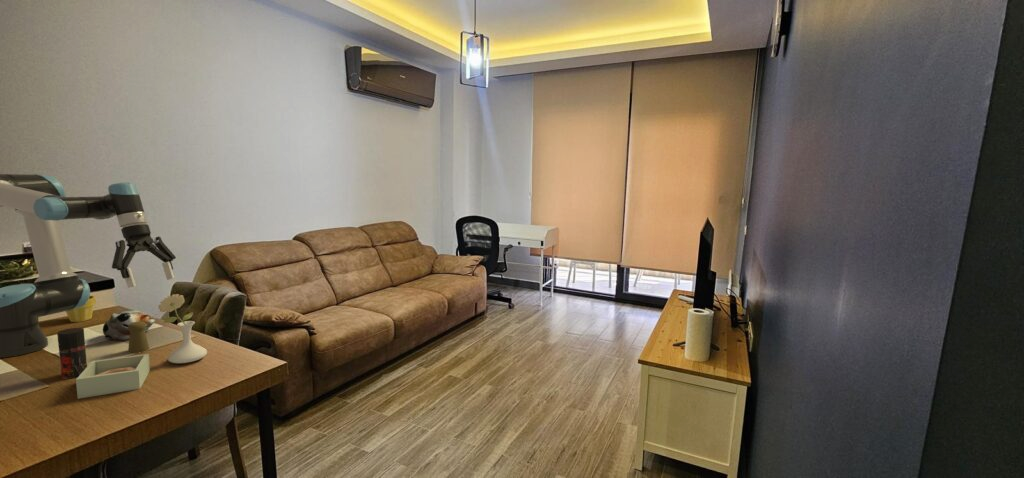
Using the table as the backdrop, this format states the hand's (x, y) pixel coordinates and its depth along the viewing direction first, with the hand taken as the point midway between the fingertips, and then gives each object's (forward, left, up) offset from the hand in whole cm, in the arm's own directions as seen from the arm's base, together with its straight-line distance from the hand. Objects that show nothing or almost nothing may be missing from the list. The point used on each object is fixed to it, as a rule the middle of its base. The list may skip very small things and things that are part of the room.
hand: (152, 282), depth 151 cm
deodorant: (+8, -20, -28) cm, 35 cm away
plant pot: (-58, -36, -28) cm, 73 cm away
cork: (-8, -7, -28) cm, 29 cm away
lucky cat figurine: (-27, -13, -28) cm, 41 cm away
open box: (+21, -7, -27) cm, 35 cm away
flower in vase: (+9, +9, -28) cm, 31 cm away
